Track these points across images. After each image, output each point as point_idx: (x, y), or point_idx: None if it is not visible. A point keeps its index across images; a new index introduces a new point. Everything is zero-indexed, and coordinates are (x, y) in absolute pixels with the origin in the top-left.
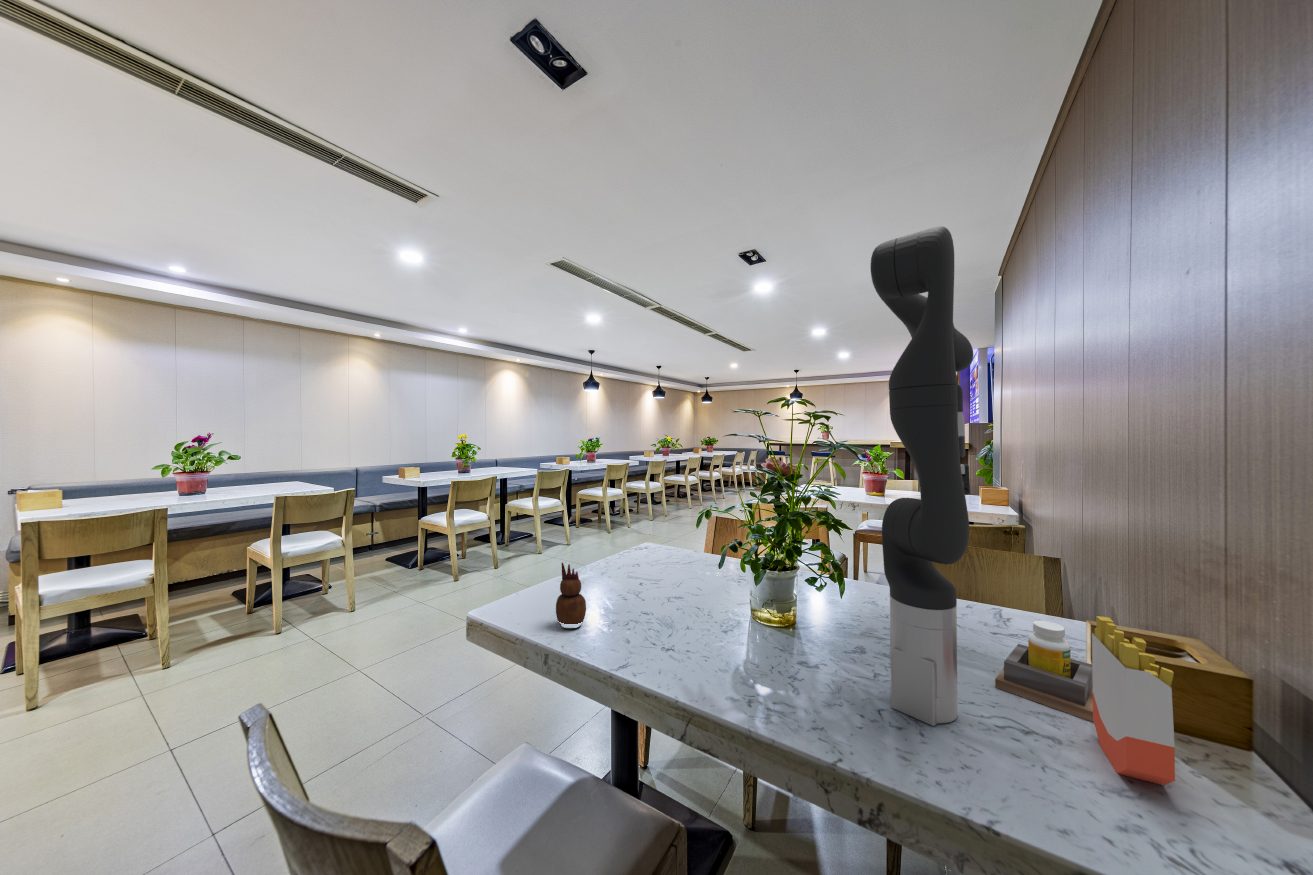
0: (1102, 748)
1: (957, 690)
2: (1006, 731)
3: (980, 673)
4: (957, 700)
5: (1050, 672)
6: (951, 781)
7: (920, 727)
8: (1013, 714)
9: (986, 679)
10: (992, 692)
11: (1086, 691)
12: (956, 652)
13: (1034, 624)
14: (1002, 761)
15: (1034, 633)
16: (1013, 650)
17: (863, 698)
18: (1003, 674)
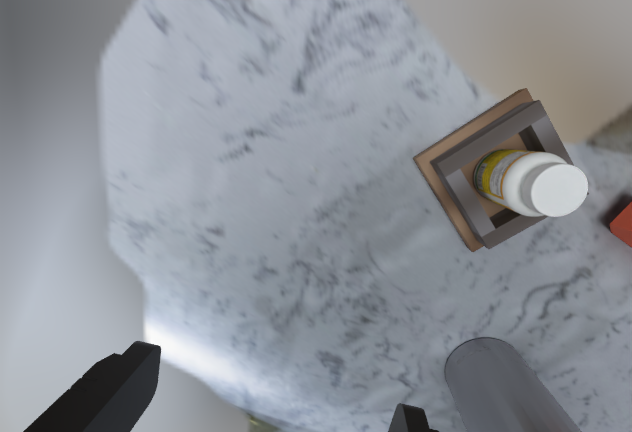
0: (617, 236)
1: (530, 369)
2: (553, 314)
3: (428, 237)
4: (524, 361)
5: None
6: (598, 425)
7: None
8: (527, 277)
9: (445, 242)
10: (477, 262)
11: None
12: (571, 419)
13: (542, 213)
14: (592, 360)
15: (522, 200)
16: (458, 197)
17: (451, 424)
18: (464, 228)
